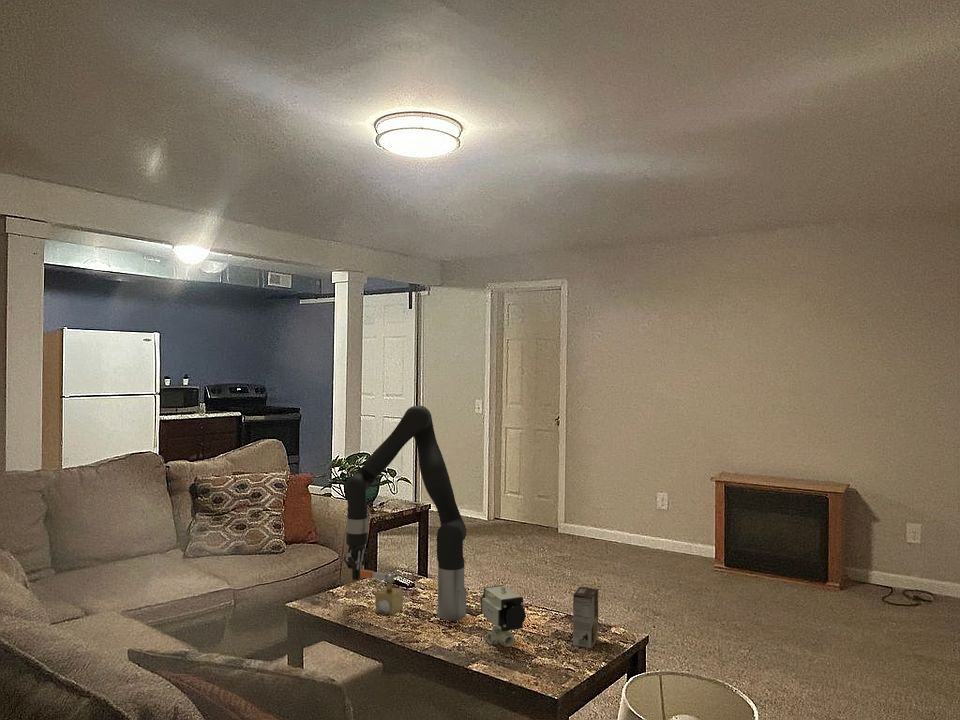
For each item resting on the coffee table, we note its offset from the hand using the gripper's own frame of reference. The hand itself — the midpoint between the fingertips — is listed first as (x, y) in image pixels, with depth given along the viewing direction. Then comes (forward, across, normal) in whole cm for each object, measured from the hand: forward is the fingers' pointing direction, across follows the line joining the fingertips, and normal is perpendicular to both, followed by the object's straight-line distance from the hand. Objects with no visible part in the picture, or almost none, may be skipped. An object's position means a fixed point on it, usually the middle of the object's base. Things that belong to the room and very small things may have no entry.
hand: (356, 579), depth 252 cm
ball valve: (+11, -4, -57) cm, 58 cm away
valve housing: (+11, +6, -10) cm, 16 cm away
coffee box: (+11, +9, -81) cm, 82 cm away
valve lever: (+1, +6, -4) cm, 8 cm away
